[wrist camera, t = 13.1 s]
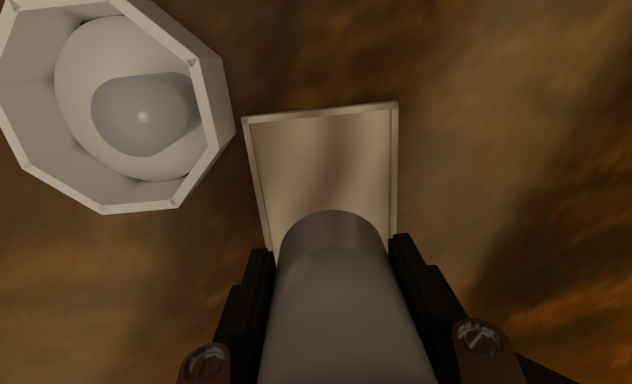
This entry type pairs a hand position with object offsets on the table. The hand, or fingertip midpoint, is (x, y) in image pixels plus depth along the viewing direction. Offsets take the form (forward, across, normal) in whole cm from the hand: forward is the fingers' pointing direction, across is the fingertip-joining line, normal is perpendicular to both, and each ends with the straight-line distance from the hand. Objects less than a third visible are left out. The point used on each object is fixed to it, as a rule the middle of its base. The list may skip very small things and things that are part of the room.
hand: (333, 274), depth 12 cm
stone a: (+14, +10, -6) cm, 19 cm away
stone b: (+1, 0, 0) cm, 1 cm away
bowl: (+15, +13, -6) cm, 21 cm away
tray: (+15, 0, +4) cm, 16 cm away
